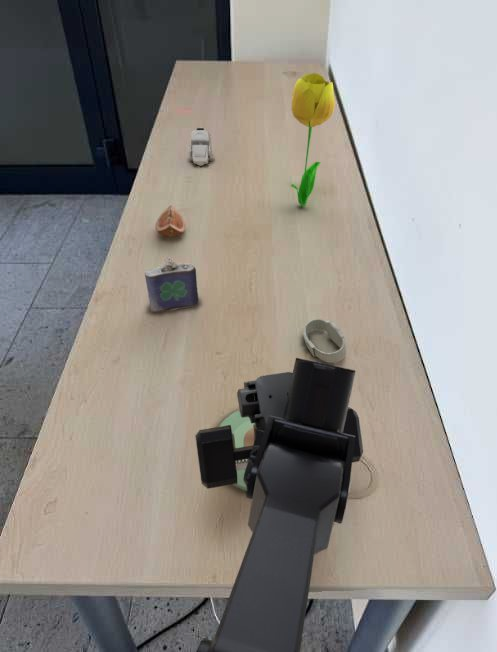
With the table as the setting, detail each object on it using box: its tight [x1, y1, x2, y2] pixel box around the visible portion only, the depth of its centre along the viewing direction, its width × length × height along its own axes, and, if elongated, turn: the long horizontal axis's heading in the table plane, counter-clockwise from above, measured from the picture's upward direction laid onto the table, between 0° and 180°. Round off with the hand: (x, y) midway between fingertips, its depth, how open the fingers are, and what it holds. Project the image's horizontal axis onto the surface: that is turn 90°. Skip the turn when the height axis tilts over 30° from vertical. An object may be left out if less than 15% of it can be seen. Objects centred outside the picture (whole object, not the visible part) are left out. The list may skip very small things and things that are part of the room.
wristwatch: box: [302, 318, 347, 363], centre depth 84 cm, size 9×6×5 cm
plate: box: [218, 409, 255, 492], centre depth 71 cm, size 14×14×1 cm
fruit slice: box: [155, 205, 187, 237], centre depth 109 cm, size 8×7×5 cm
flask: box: [144, 257, 199, 314], centre depth 90 cm, size 9×3×11 cm, turn 105°
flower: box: [290, 72, 336, 209], centre depth 109 cm, size 9×8×30 cm
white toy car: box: [188, 127, 213, 167], centre depth 133 cm, size 6×7×10 cm
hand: (266, 431), depth 64 cm, fingers open, 9 cm apart
